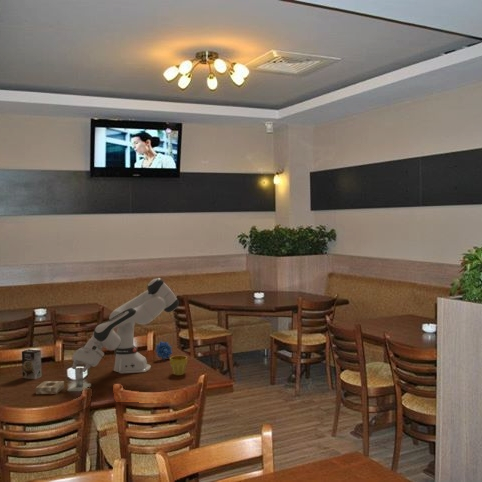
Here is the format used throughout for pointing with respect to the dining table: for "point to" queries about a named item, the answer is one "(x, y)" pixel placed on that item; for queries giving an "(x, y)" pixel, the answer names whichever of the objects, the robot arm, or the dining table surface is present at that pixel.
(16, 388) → the dining table surface
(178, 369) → the plant pot
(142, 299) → the robot arm
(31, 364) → the coffee box
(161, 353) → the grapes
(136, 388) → the dining table surface
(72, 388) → the sage plate
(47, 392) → the pocket block
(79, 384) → the metal peg
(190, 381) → the dining table surface
